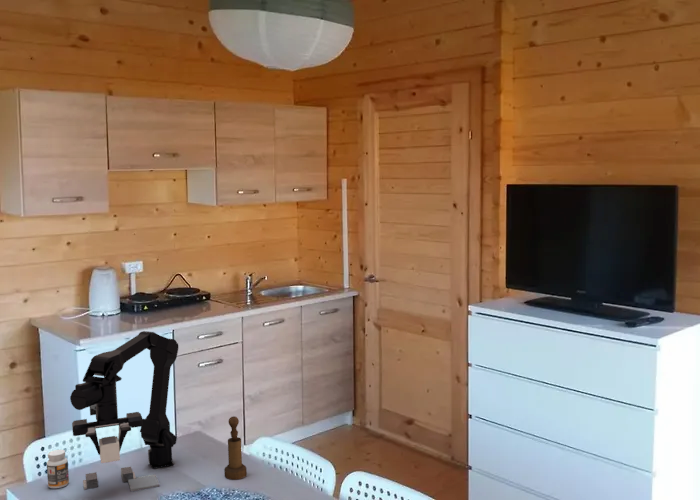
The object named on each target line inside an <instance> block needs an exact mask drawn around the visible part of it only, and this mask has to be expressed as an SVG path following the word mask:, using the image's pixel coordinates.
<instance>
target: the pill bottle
mask: <svg viewBox="0 0 700 500" xmlns="http://www.w3.org/2000/svg"><path fill="white" fill-rule="evenodd" d="M47 458H48V460H47V462H46V473H47V474H46V476H47V486H48V488H51V489H61V488H64V487H66V486H67V485H68V484H69V482H70V480H69V479H70V478H69V475H70V474H69V461H68V458H67V457H66V450H65V449H55V450H51V451H49V452H48V453H47Z"/></svg>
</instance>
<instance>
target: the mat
mask: <svg viewBox="0 0 700 500" xmlns="http://www.w3.org/2000/svg"><path fill="white" fill-rule="evenodd" d="M128 486H129V489H130V492H136V491H142V490H148V489H152V488H153V489H154V488H157V487H160V481H159V479H158V477H157V474H156V473H155V474H150V475H143V476H138V477H137V476H136V479H129V480H128Z"/></svg>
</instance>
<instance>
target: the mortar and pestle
mask: <svg viewBox="0 0 700 500" xmlns="http://www.w3.org/2000/svg"><path fill="white" fill-rule="evenodd" d="M239 422H240V421H239V418H238V417H237V416H234V415H233V416H230V417H229V419H228V425H229V427H230V429H231V431H230V432H229V433H230V438H228V439H227V451H228V454H227V455H228V464H227V465H226V466H225V467H224V469H223V470H224V477H225V478H226V479H228V480H241V479H244V478H245V477H247V475H248V473H247V466H246V465H245V464H243V457H242V438H241V437H238V436H239V435H238V434H239V431H238V429H237V427H238V425H239Z"/></svg>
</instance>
